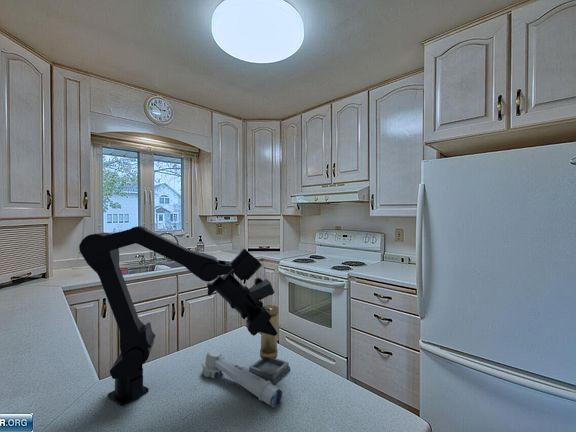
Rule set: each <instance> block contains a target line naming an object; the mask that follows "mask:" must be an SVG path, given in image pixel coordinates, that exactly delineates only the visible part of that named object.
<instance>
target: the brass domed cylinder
mask: <svg viewBox="0 0 576 432" xmlns="http://www.w3.org/2000/svg"><path fill="white" fill-rule="evenodd" d="M263 307H265V308H266V309H267V310H268V311H269V313H270V314H271V316H272V317H271V319H270V320H269V321H270V322H271V324H272V325H273V327H274V328H275V330H276V331H277V332H278V324H279V323H278V322H279V321H278V320H279V318H278V316H279V313H280V312H279V306H277V305H271V304H270V305H269V304H268V305H263ZM278 351H279V350H278V334H277V335H276V336H272V335H269V334H265V333H261V332H260V349H259V357H260V359H261V358H262V359H265V360H272V359H275V358H277V357H278V353H279V352H278Z"/></svg>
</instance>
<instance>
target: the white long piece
mask: <svg viewBox="0 0 576 432" xmlns="http://www.w3.org/2000/svg"><path fill="white" fill-rule="evenodd" d="M201 366H202V373H203V376H204V377H206V378H212V379H215V378H219V377H221V375H222V373H223V374H225V375H226V376H228V377H229V378H230V379H232V380H233V381H235V382H236V383H237V384H239V385H240V386H241V387H243V388H245V389H246V390H247V391H249V393H251V394H253V395H255V397H257V398H258V401H260V402H261V403H263V402H264V403H265V404H267V405H268V406H270V407H272V409H275V408H276V407H277V405H279V404H280V402H281V400H282V399H283V393H284V392H283V390H281V389H280V388H278V387H277V386H275V384H274V385H272V383H271V382H270V381H265V380H264V379H262V378H260V377H258V376H256V375H255V374H253V373H251V372H249V370H247V369H245V368H243V367H241V366H240V365H238V364H236V363H234V362H233V361H231V360H229V359H227V358H226V357H224V356H223V355H222V353H221V351H220V350H219V349H214V348H213V349H210V350H208V351H207V353H206V358H204V359H203V360H202V362H201Z"/></svg>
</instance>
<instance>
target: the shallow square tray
mask: <svg viewBox="0 0 576 432" xmlns="http://www.w3.org/2000/svg"><path fill="white" fill-rule="evenodd" d="M248 371H249V372H251V373H253V374H255V375H256V376H258V377H260V378H262V379H264V380H265V381H270V382H271V383H272V385H274V386H275V385H276V383H278V382H279V381H280V380H281V379H282V378H283V377H285V375H287V373H289V372H290V371H291V366H290V363H289V362H288V361H285V360H282V359H280V358H277V357H276V358H275V359H272V360H265V359H262V358H261V357H260V358H259V359H258V360H257V361H255V362H254V363H253V364H251V365H250V366H249V367H248Z"/></svg>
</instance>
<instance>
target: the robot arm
mask: <svg viewBox="0 0 576 432" xmlns="http://www.w3.org/2000/svg"><path fill="white" fill-rule="evenodd" d="M134 244H136V245H139V246H141V247H143V248H145V249H148V250H149V251H152V252H155V253H156V254H158V255H161V256H162V257H165V258H167V259H170V260H171V261H173V262H175V263H178V264H179V265H181V266H183V267H184V268H185V269H186V270H188V271H189V272H190V273H191V274H193V275H194V276H195V277H197V278H198V279H200V280H201V281H203V282H207V283H206V286H207V296H209V297H210V296H211V295H212V294H213V293H215V292H216V293H217V294H218V295H220V297H222V298H223V300H225V301H226V302H227V303H228V304H229V306H230V308H231V309H232V310H235V311H236V312H237V313H238V314H240V317H241V318H242V319H243V320H245V319H246V320H245V323H246V324H245V327H246V329H247V331H248V332H249V333H250V334H251V335H252V336H253V337H254V336H256V335H257V334H258V333H260V334H261V333H265V334H269V335H272V336H276V335H277V336H278V330H277V331H276V330H275V328H274V327H273V325H272V324H271V322H270V321H269V320H270V319H271V317H272V316H271V314H270V313H269V311H268V310H267V309H266V308H265V307H263V306H264V303H263V301H262V300H263V299H265V298H267V297H270V296H273V295H274V294H275V290H274V288H273V285H272V283H271V282H270V281H269V279H266V278H265V279H262V278H261V277H259V276H258V277H256V278H255V279H254V282H253V283H254V284H253V285H252V286H251V287H248V286H247V285H244V284H242V283H241V282H243V281H244V282H245V281H249V279H251V278H252V277H253V276H254V275H255V273H256V272H258V271H259V270H260V268H261V267H263V264H262V263H261V261H259V260H258V259H257V258H256V257H255V256H254V255H252V254H251V253H250V252H249V251H248V250H247V249H246V248H242V250H241V251H239V254H237V256H235V257H234V258H233V259H232V260H231V261H229V260H228V261H227V260H221V259H218V258H217V257H215V256H213V255H210V254H207V253H203V252H201V251H195V250H191V249H188V248H187V247H184V246H182V245H180V244H178V243H176V242H173V241H172V240H170V239H168V238H166V237H163V236H161V235H160V234H157V233H155V232H154V231H151V230H150V229H148V228H147V227H146V226H142V225H138V226H134V227H131V228H129V229H126V230H122V231H118V232H115V233H110V232H98V233H97V232H96V233H92V234H89V235H86V236H85V237H84V238H82V240H81V241H80V243H79V246H78V249H79V252H80V254H81V256H82V258H83V259H84V260H85V261H84V262H86V264H87V265H88V266H89V267H90V268H91V269H92V270H93V271H94V272H95V273H96V274H97V275H98V278H99V280H100V283H101V286H102V287H103V289H102V290H103V291H104V294H105V296H106V299H107V302H108V304H109V307H110V309H111V313H112V315H113V317H114V320H115V322H116V326H117V328H118V331H119V350H120V353H119V355H118V357H117V358H116V360H115V361H114V362H113V365H112V366H111V368H110V370H109V373H110V376H111V379H113V380H114V390H112V391H111V392H108V393H107V398H109V399H111V400H112V401H113V402H116V403H117V404H119V405H120V406H125V405H126V404H128V403H130V402H132V401H135V399H137V398H139V397H140V396H143V395H145V394H146V393H148V392H149V391H150V390H149V389H150V388H149V387H147V386H145V385H144V367H143V365H144V364H145V363H146V362H147V361H148V359H149V357H150V354H151V353H152V349H153V348H154V343H155V338H156V334H155V333H154V331H153V329H152V324H151V322H150V321H149V322H148V323H146V324H144V322H143V321H141V319H140V318H139V315H138V312H137V310H136V308H135V305H134V303H133V299H132V297H131V294H130V291H129V289H128V286H127V283H126V281H125V278H124V275H123V273H122V270H121V268H120V249H121V248H125V247H128V246H131V245H134ZM233 274H234V275H235V276H236V277H237V278H238V279H239V280H240V281H241V282H240V281H239V280H238V279H237V278H236V277H235V276H234V275H233ZM212 281H213V282H212Z"/></svg>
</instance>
